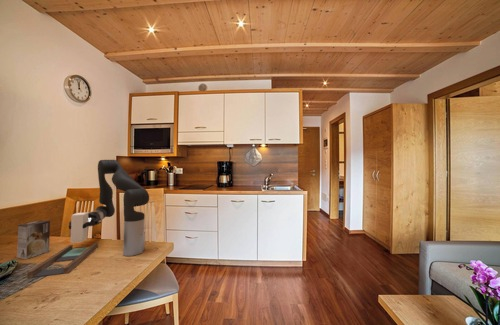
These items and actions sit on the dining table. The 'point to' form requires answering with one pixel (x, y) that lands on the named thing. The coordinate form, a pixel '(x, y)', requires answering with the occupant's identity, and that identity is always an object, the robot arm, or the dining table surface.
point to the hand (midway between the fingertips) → (76, 226)
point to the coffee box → (33, 239)
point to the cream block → (78, 227)
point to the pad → (75, 252)
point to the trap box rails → (60, 254)
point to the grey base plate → (55, 271)
